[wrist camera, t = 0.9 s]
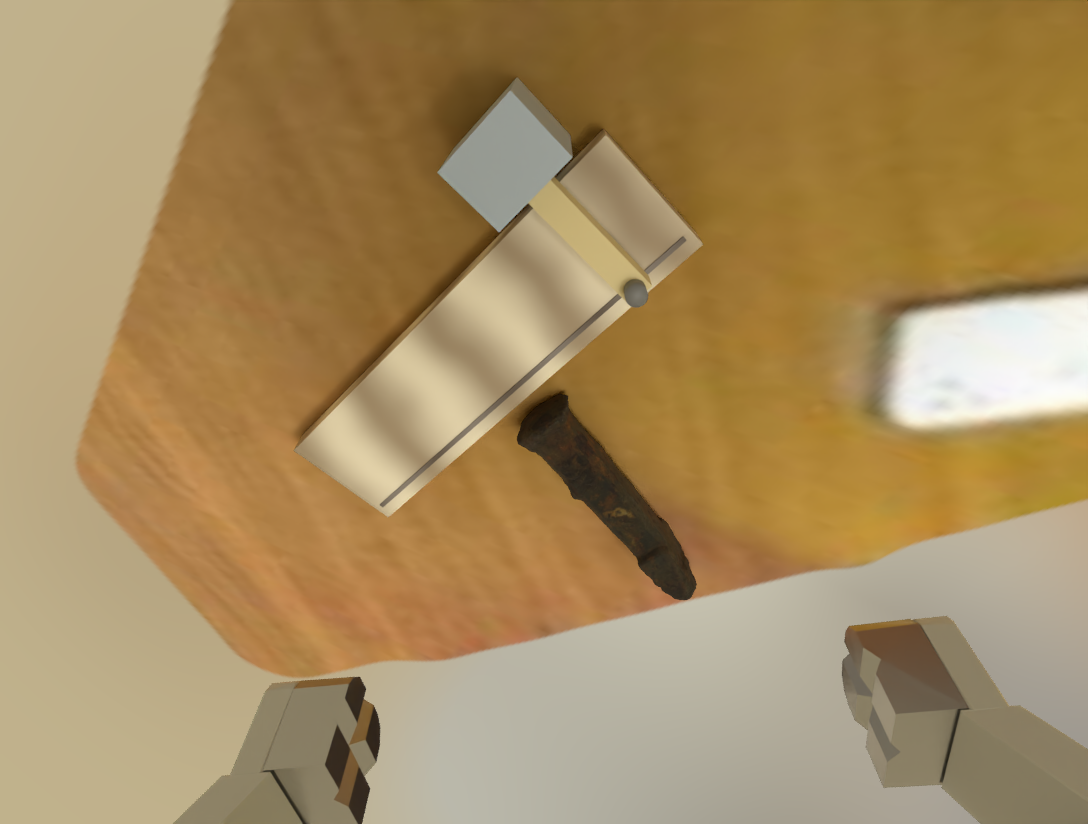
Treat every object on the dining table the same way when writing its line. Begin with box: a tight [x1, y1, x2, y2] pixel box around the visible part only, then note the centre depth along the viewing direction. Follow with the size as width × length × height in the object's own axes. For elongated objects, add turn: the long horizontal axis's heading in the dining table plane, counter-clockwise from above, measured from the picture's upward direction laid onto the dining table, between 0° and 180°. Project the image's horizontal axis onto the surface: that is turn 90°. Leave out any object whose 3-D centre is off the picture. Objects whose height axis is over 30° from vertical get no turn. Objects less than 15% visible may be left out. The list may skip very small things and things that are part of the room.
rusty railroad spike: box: [517, 394, 697, 600], centre depth 48 cm, size 19×4×5 cm, turn 35°
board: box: [294, 129, 703, 517], centre depth 42 cm, size 28×8×2 cm, turn 135°
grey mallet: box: [437, 77, 652, 307], centre depth 36 cm, size 5×12×6 cm, turn 45°
